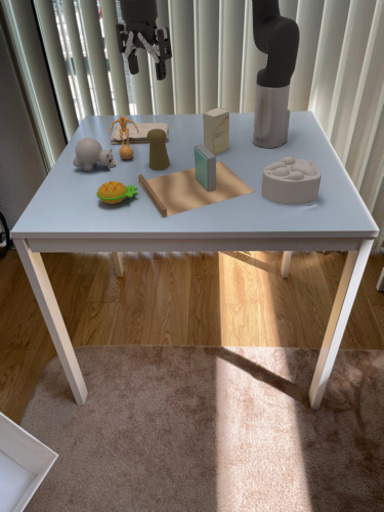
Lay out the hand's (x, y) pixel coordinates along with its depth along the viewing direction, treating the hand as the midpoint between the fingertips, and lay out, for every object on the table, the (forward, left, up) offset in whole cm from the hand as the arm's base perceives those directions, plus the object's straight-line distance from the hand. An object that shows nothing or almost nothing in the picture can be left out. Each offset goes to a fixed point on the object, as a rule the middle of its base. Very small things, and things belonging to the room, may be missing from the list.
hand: (147, 76), depth 94 cm
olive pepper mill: (-2, -5, -26) cm, 27 cm away
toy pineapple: (+13, +6, -26) cm, 30 cm away
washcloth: (-4, -28, -27) cm, 39 cm away
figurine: (+4, -16, -26) cm, 31 cm away
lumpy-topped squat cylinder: (-25, +23, -26) cm, 43 cm away
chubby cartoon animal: (+13, -13, -26) cm, 32 cm away
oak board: (-6, +10, -26) cm, 29 cm away
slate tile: (-9, +10, -25) cm, 29 cm away
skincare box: (-20, -6, -26) cm, 34 cm away
